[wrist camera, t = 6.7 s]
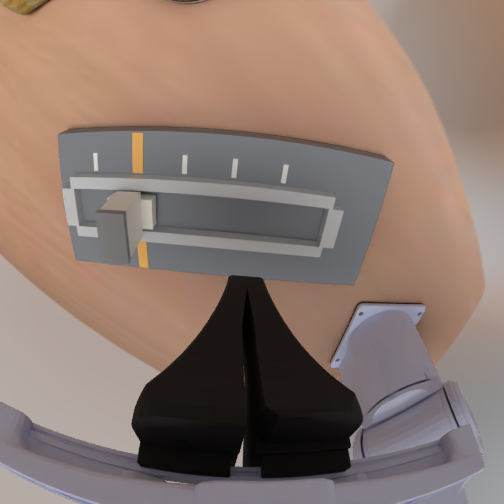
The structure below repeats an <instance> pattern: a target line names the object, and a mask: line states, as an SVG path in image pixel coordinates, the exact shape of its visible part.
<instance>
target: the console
mask: <svg viewBox="0 0 504 504" xmlns="http://www.w3.org/2000/svg"><path fill="white" fill-rule="evenodd" d="M58 144H59V158H60V168H61V177H62V186H63V188H62V191H63V198H64V204H65V211H66V217H67V222H68V225H69V229H70V235H71V239H72V244H73V249H74V253H75V258H76V260H79V261H88V262H96V263H104V264H113V265H122V266H131V267H140V268H150V269H159V270H169V271H179V272H189V273H200V274H211V275H222V276H231V275H238V276H250V277H261V278H262V279H269V280H282V281H296V282H310V283H324V284H340V285H354V284H355V281H356V278H357V276H358V273H359V271H360V268H361V265H362V263H363V260H364V257H365V254H366V252H367V249H368V246H369V243H370V240H371V237H372V234H373V232H374V229H375V226H376V223H377V220H378V216H379V213H380V210H381V207H382V204H383V201H384V197H385V194H386V191H387V187H388V184H389V180H390V177H391V173H392V169H393V166H394V162H392V161H391V160H390V159H388V158H387V157H385V156H382V155H378V154H374V153H370V152H365V151H361V150H356V149H351V148H347V147H342V146H337V145H331V144H326V143H321V142H315V141H309V140H303V139H296V138H290V137H283V136H276V135H268V134H260V133H251V132H241V131H231V130H219V129H205V128H187V127H153V126H129V127H96V128H79V129H69V130H67V131H64V132H62V133H60V134H58ZM116 191H127V192H141V194H151V195H156V225H155V227H154V229H153V230H151V229H143V237H142V238H141V240H140V242H139V244H138V246H137V248H136V249H135V251H134V253H133V255H132V257H131V261H130V263H129V264H121V263H112V262H103V261H102V257H101V251H100V246H99V239H98V233H97V226H96V219H95V212H96V211H97V209H100V208H101V207H102V206H103V205H104V204H105V203H106V202H107V198H108V197H109V196H110V195H111V194H112V193H115V192H116Z"/></svg>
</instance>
